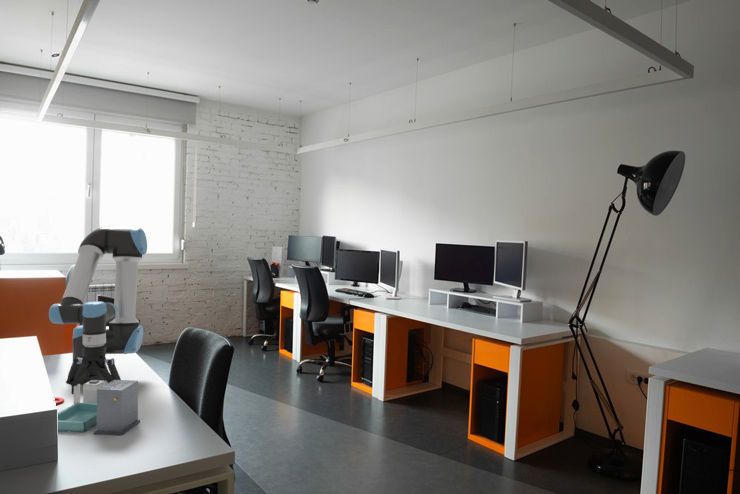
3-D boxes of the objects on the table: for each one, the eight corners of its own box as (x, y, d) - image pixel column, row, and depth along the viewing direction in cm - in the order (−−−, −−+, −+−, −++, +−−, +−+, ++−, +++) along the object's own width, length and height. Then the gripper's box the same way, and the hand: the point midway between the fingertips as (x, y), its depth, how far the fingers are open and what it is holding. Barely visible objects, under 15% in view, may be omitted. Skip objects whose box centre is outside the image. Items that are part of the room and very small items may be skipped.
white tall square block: (91, 401, 189) (91, 378, 189) (104, 402, 189) (104, 379, 189) (82, 406, 184) (83, 382, 184) (96, 406, 184) (96, 383, 184)
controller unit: (113, 420, 172) (113, 379, 171) (140, 421, 171) (140, 380, 171) (93, 434, 160) (93, 389, 160) (122, 435, 160) (122, 390, 159)
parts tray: (77, 411, 179) (77, 402, 179) (113, 412, 179) (113, 404, 179) (43, 430, 162) (43, 421, 162) (83, 432, 162) (83, 422, 161)
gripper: (55, 345, 183) (54, 405, 183) (121, 348, 182) (120, 408, 182) (68, 341, 190) (68, 398, 191) (132, 343, 189) (131, 401, 190)
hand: (93, 403), depth 187 cm, fingers open, 12 cm apart
